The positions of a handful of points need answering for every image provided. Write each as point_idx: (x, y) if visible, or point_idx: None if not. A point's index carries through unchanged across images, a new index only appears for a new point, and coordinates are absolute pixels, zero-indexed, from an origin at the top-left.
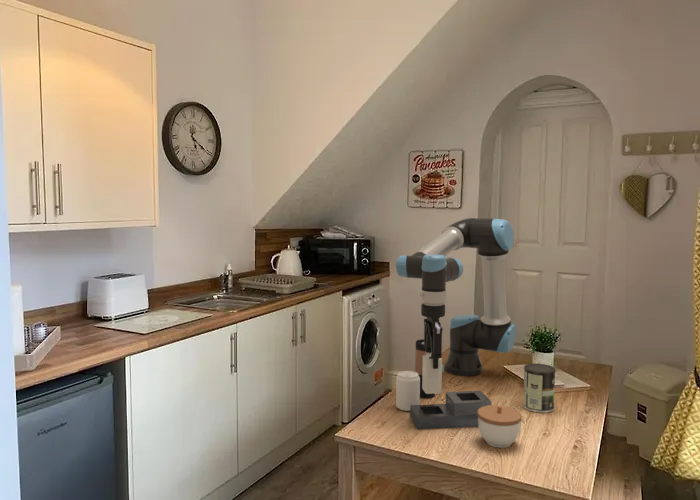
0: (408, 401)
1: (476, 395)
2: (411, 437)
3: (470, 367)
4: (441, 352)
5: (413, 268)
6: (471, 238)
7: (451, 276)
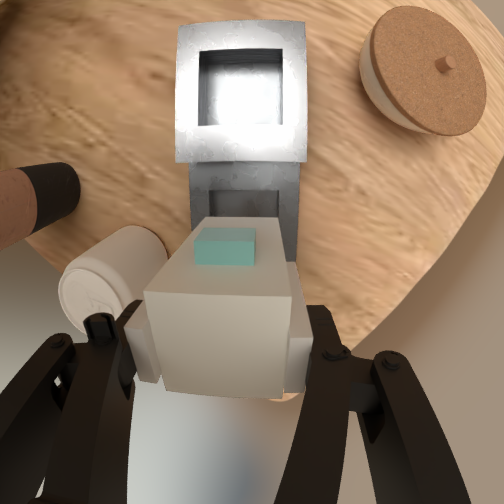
0: None
1: (226, 49)
2: (331, 290)
3: None
4: (421, 388)
5: None
6: None
7: None
